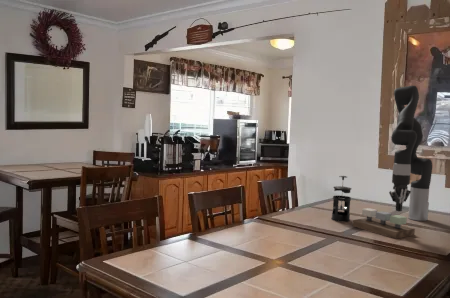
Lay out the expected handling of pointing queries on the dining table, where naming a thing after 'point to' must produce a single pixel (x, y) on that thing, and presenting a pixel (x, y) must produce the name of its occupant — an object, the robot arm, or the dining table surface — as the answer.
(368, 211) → the cream block
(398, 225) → the sage key
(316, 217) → the dining table surface
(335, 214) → the french press
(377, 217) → the grey squarish block
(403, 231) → the key panel
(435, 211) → the dining table surface
